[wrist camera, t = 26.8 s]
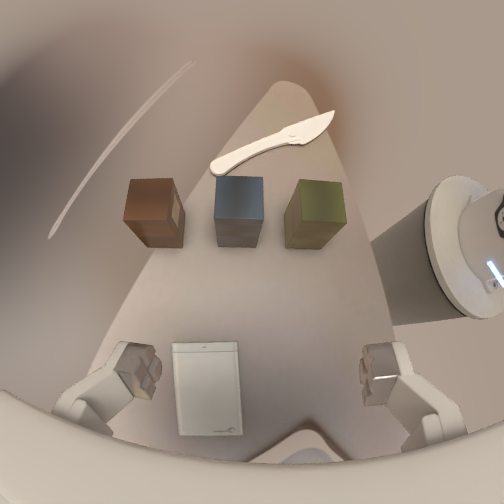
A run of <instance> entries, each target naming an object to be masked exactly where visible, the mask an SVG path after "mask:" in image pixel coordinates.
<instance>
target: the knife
mask: <svg viewBox="0 0 504 504" xmlns="http://www.w3.org/2000/svg"><path fill="white" fill-rule="evenodd" d="M334 112H335V110H333V111H330V112H327V113H324V114H321V115H318V116H315V117H312V118H310V119H307V120H304V121H301V122H299V123H296V124H293V125H290V126H288V127H285V128H283V129H282V130H281V131H280V132H278V133H275V134H273V135H270V136H268V137H265V138H263V139H261V140H258V141H256V142H253V143H251V144H249V145H246V146H244V147H242V148H239V149H237V150H235V151H233V152H230V153H228V154H226V155H224V156H222V157H219V158H217V159H215V160H213V161H212V162H211V164H210V170H211V172H212V174H214V175H216V176H223V175H225V174H226V173H228V172H229V171H230V170H232V169H233V168H234V167H236V166H237V165H239V164H241V163H242V162H244V161H246V160H247V159H249V158H251V157H253V156H255V155H257V154H259V153H262V152H264V151H267V150H269V149H272V148H275V147H279V146H283V145H287V144H298V143H300V144H302V145H304V144H306V143H308V142H309V141H311V140H313V139H314V138H316V137H317V136H318V135H320V134H321V133H322V132H323V131H324V130H325V129H326V128H327V126H328V125H329V123H330V122H331V120H332V118H333V115H334Z"/></svg>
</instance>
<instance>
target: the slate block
mask: <svg viewBox="0 0 504 504" xmlns="http://www.w3.org/2000/svg"><path fill="white" fill-rule="evenodd" d="M263 220H264V208H263V177H247V176H217V178H216V193H215V210H214V221H215V228H216V235H217V242H218V247H250V248H256V245H257V241H258V237H259V234H260V230H261V227H262V223H263Z"/></svg>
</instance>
